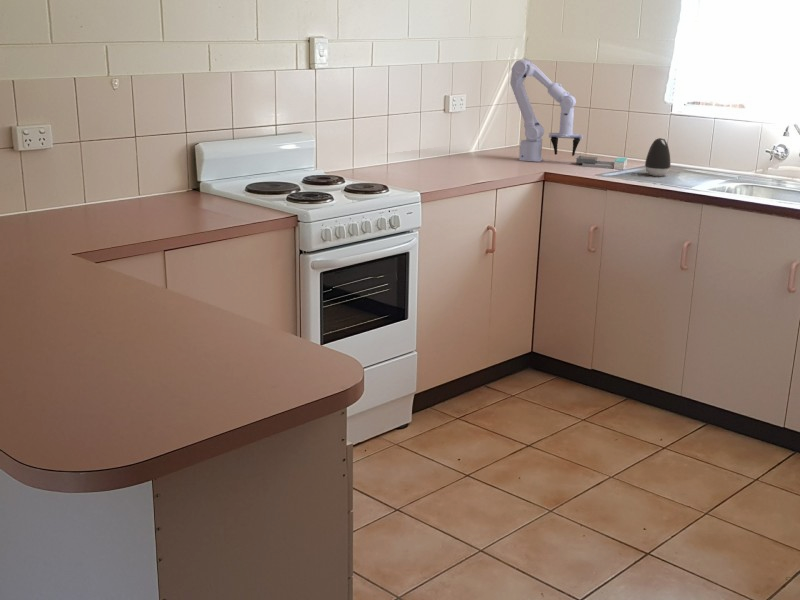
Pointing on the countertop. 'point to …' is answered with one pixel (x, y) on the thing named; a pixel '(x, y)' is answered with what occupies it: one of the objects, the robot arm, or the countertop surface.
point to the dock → (609, 164)
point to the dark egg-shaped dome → (658, 158)
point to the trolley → (585, 159)
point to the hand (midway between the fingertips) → (564, 154)
